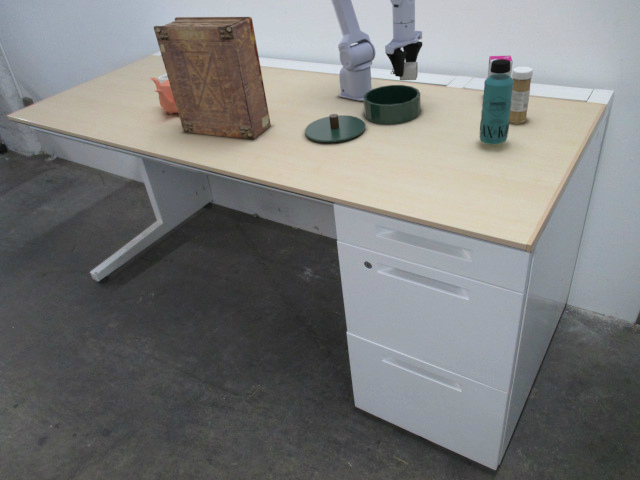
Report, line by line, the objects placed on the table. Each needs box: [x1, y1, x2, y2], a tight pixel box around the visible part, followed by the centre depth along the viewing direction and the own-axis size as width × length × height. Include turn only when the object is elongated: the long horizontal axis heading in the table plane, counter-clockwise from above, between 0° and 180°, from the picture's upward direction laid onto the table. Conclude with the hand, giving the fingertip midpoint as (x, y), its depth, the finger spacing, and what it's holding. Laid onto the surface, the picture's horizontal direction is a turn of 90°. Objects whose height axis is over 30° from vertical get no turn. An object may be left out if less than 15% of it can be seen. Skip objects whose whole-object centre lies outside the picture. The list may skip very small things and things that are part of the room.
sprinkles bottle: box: [509, 66, 534, 125], centre depth 128 cm, size 5×5×14 cm
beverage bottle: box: [479, 59, 514, 145], centre depth 117 cm, size 6×7×20 cm
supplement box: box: [486, 55, 514, 79], centre depth 141 cm, size 6×6×12 cm
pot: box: [363, 84, 421, 125], centre depth 144 cm, size 15×15×5 cm
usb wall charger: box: [390, 61, 419, 81], centre depth 140 cm, size 4×7×4 cm, turn 74°
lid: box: [304, 113, 366, 143], centre depth 139 cm, size 16×16×4 cm
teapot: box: [149, 77, 178, 115], centre depth 164 cm, size 14×14×11 cm
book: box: [153, 16, 272, 140], centre depth 141 cm, size 25×9×30 cm, turn 64°
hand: (404, 72), depth 141 cm, fingers closed on usb wall charger, 5 cm apart
